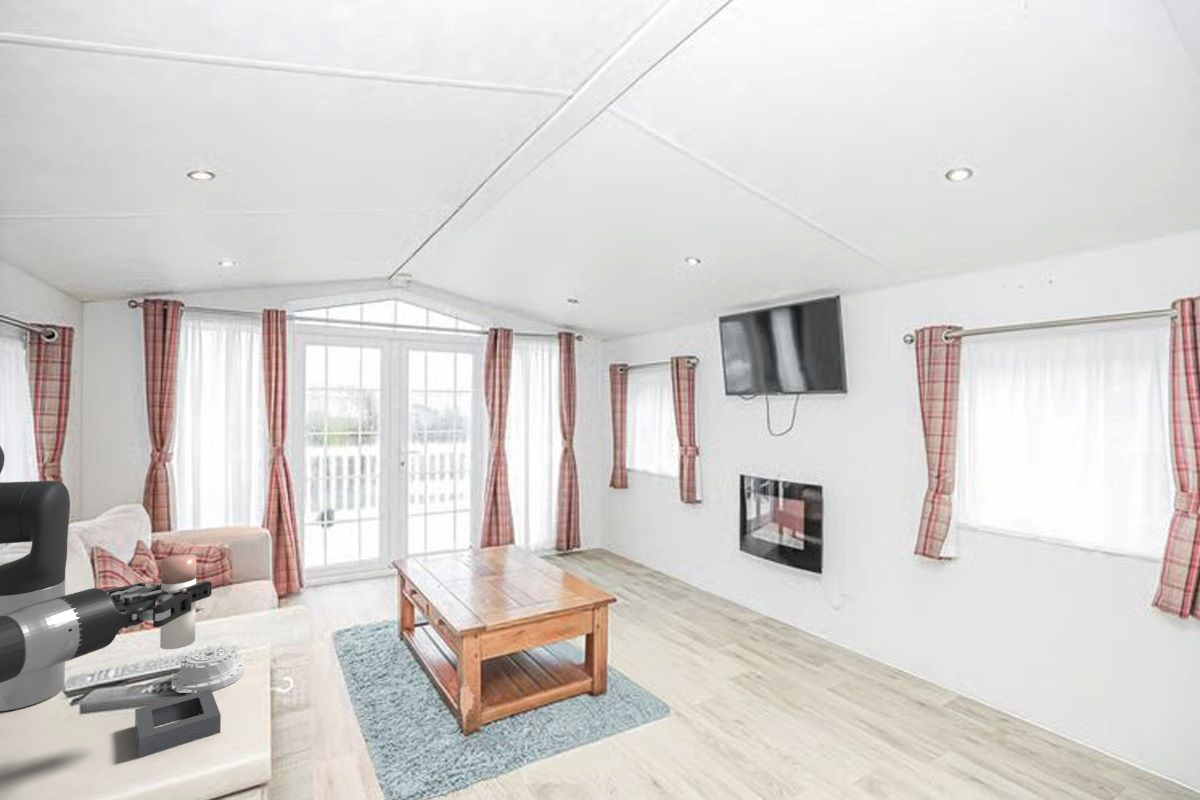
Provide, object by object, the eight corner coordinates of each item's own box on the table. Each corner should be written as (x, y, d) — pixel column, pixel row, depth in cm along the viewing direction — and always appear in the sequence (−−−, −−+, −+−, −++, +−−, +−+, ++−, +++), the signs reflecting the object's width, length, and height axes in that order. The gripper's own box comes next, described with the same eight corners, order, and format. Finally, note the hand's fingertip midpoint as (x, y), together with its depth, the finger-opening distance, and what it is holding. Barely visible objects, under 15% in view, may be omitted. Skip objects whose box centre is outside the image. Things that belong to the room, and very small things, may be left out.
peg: (158, 642, 82) (160, 557, 82) (193, 634, 85) (194, 552, 85) (161, 651, 79) (162, 564, 79) (197, 644, 82) (198, 559, 82)
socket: (135, 726, 83) (135, 709, 83) (210, 704, 89) (210, 688, 89) (138, 757, 76) (139, 738, 76) (220, 732, 82) (220, 714, 82)
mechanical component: (155, 692, 92) (208, 699, 90) (155, 664, 92) (208, 671, 90) (208, 663, 102) (257, 669, 100) (209, 638, 102) (258, 644, 100)
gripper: (96, 608, 66) (235, 566, 82) (18, 591, 70) (164, 554, 87) (95, 673, 66) (234, 618, 82) (17, 652, 71) (163, 604, 87)
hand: (197, 586), depth 84 cm, fingers closed on peg, 4 cm apart
